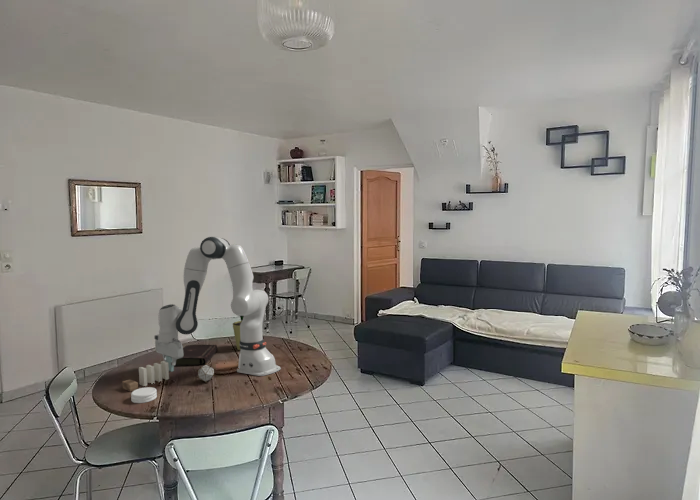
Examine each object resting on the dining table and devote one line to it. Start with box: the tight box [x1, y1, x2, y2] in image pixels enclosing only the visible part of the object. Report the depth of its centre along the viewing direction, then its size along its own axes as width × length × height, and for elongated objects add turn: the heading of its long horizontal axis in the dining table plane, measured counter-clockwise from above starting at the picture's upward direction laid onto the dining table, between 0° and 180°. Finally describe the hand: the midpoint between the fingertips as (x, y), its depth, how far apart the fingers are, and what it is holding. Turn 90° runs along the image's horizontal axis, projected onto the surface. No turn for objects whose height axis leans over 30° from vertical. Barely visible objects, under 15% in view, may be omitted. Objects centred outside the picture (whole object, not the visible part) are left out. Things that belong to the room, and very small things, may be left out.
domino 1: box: [138, 366, 148, 387], centre depth 213 cm, size 4×1×8 cm, turn 52°
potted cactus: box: [232, 316, 244, 351], centre depth 271 cm, size 15×15×30 cm
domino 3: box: [153, 362, 163, 383], centre depth 218 cm, size 4×1×8 cm, turn 52°
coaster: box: [130, 386, 158, 404], centre depth 196 cm, size 10×10×4 cm
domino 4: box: [160, 360, 170, 380], centre depth 221 cm, size 4×1×8 cm, turn 52°
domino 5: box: [166, 356, 175, 372], centre depth 233 cm, size 4×1×8 cm, turn 52°
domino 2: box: [145, 364, 156, 385], centre depth 215 cm, size 4×1×8 cm, turn 52°
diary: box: [174, 344, 218, 367], centre depth 252 cm, size 19×25×5 cm
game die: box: [196, 363, 216, 384], centre depth 216 cm, size 9×8×10 cm
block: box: [122, 379, 139, 393], centre depth 208 cm, size 7×4×3 cm, turn 52°
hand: (170, 364), depth 233 cm, fingers open, 5 cm apart
